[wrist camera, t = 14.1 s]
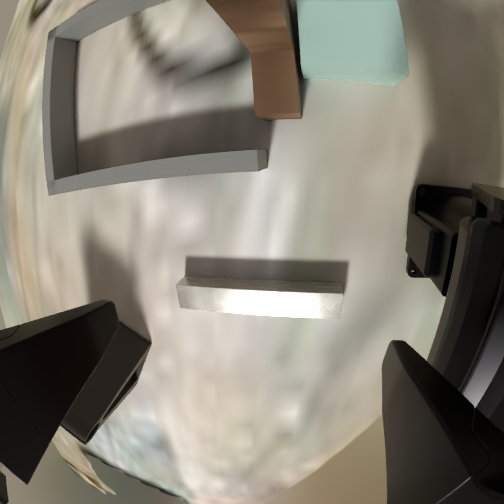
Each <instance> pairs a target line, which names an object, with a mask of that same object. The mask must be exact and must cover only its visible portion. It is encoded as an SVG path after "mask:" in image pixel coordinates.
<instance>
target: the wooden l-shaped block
mask: <svg viewBox="0 0 504 504" xmlns="http://www.w3.org/2000/svg"><path fill="white" fill-rule="evenodd" d="M206 1H207V2H208V3H209V4H210V5H211V6H212V8H213V9H214V10H215V11H216V12H217V13H218V14H219V16H220V17H221V18H222V19H223V20H224V21H225V23H226V24H227V25H228V26H229V27H230V28H231V30H232V31H233V32H234V33H235V35H236V36H237V37H238V38H239V40H240V41H241V42H242V43H243V45H244V46H245V47H246V48H247V50H248V51H249V52H250V54H251V64H252V78H253V92H254V107H255V115H256V116H258V117H259V118H261V119H263V120H278V119H302V112H301V98H300V86H299V75H298V64H297V54H296V45H295V36H294V28H293V20H292V12H291V5H290V0H206Z"/></svg>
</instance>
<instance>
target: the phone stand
mask: <svg viewBox="0 0 504 504" xmlns="http://www.w3.org/2000/svg"><path fill="white" fill-rule="evenodd" d="M150 347H151V343H149V342H148V341H146V340H145V339H143V338H142V337H140V336H139V335H137V334H136V333H134V332H133V331H131V330H130V329H129V328H127V327H126V326H124V325H123V324H122V323H120V322H119V327H118V329H117V331H116V333H115V335H114V336H113V338H112V340H111V342H110V344H109V346H108V347H107V349H106V351H105V353H104V355H103V357H102V359H101V360H100V362H99V363H98V365H97V367H96V368H95V370H94V371H93V373H92V374H91V376H90V377H89V379H88V380H87V382H86V383H85V385H84V387H83V388H82V390H81V391H80V393H79V395H78V396H77V398H76V399H75V401H74V403H73V404H72V406H71V408H70V409H69V411H68V412H67V414H66V416H65V417H64V419H63V421H62V423H61V424H60V426H62V427H63V428H64V429H65V430H66V431H68V432H69V433H70V434H71V435H73V436H74V437H75V438H77V439H78V440H79V441H80V442H82V443H83V444H85V445H86V444H87V443H88V442H89V441H90V440H91V439H92V437H93V436H94V435H95V433H96V432H97V430H98V429H99V428H100V426H101V425H102V424H103V423H104V422H105V421H106V419H107V418H108V417H109V416H110V415H111V414H112V413H113V411H114V410H115V409H116V408H117V407H118V406H119V404H120V403H121V402H122V401H123V400H124V399H125V398H126V396H127V395H128V394H129V393H130V392H131V391H132V389H133V388H134V387H135V386H136V384H137V382H138V379H139V376H140V374H141V371H142V368H143V365H144V363H145V360H146V357H147V355H148V352H149V349H150Z"/></svg>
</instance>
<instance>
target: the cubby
mask: <svg viewBox="0 0 504 504" xmlns="http://www.w3.org/2000/svg"><path fill="white" fill-rule="evenodd" d="M166 1H169V0H98V1H97V2H95V3H93V4H91V5H90V6H88V7H86V8H85V9H83V10H81V11H80V12H78V13H76V14H75V15H73V16H72V17H70V18H69V19H67V20H66V21H64V22H63V23H61V24H60V25H58V26H57V27H55V28H54V29H53V30H51V31H50V32H49V34H48V41H47V48H46V56H45V66H44V79H43V102H42V123H43V147H44V160H45V171H46V179H47V187H48V194H49V196H50V195H55V194H60V193H65V192H71V191H76V190H82V189H88V188H93V187H100V186H106V185H113V184H119V183H127V182H134V181H142V180H150V179H159V178H168V177H178V176H189V175H201V174H215V173H231V172H251V171H260V170H263V169H265V168H267V152H266V150H244V151H230V152H218V153H207V154H198V155H189V156H180V157H172V158H165V159H158V160H151V161H145V162H139V163H133V164H127V165H121V166H116V167H111V168H106V169H101V170H96V171H91V172H87V173H82V174H78V170H77V160H76V148H75V132H74V72H75V56H76V45H77V42H78V41H79V40H81V39H83V38H85V37H86V36H88V35H90V34H92V33H94V32H96V31H98V30H100V29H102V28H103V27H106V26H108V25H110V24H112V23H114V22H116V21H118V20H120V19H123V18H125V17H127V16H129V15H132V14H134V13H137V12H139V11H142V10H144V9H147V8H149V7H152V6H155V5H158V4H160V3H163V2H166Z"/></svg>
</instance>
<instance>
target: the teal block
mask: <svg viewBox="0 0 504 504" xmlns="http://www.w3.org/2000/svg"><path fill="white" fill-rule="evenodd" d="M296 3H297V14H298V27H299V41H300V58H301V68H302V73H303V78H304V79H327V80H345V81H357V82H367V83H376V84H384V85H391V86H395V85H396V84H398V83H399V82H400V81H402V80H403V79H404V78H405V77H407V76H408V75H409V66H408V57H407V50H406V43H405V37H404V31H403V25H402V20H401V15H400V11H399V6H398V2H397V0H296Z"/></svg>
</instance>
